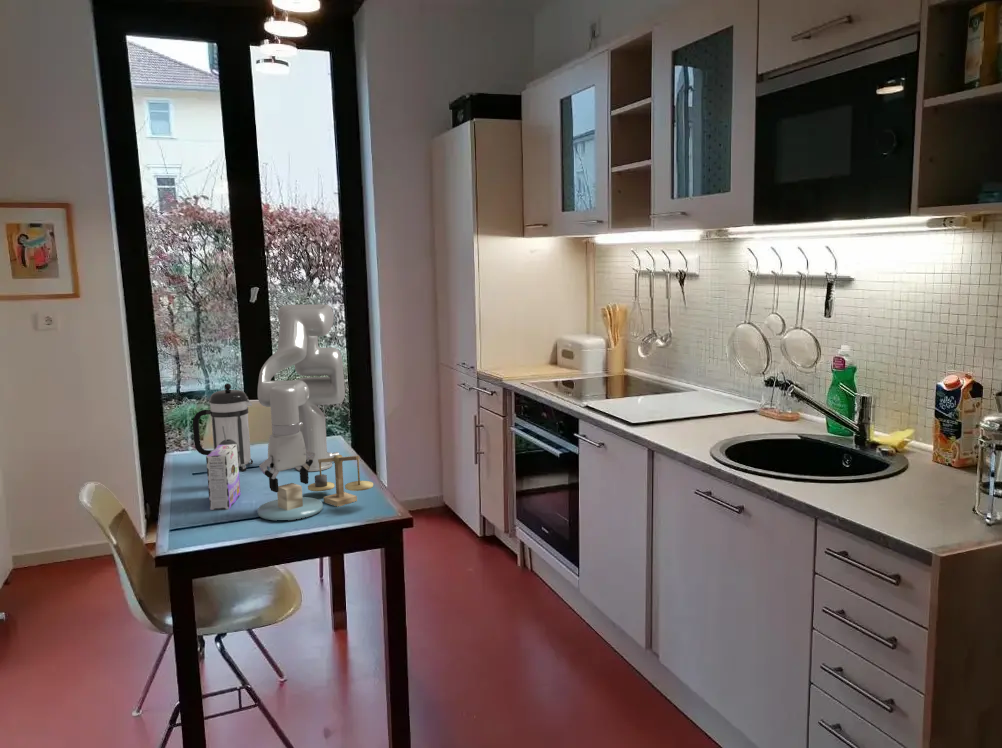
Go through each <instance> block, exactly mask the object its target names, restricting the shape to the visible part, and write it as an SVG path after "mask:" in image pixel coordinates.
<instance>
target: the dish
mask: <svg viewBox="0 0 1002 748" xmlns="http://www.w3.org/2000/svg"><path fill="white" fill-rule="evenodd" d="M302 500H303V506H302V507H298V508H295V509H291V510H285V509H282V508H280V507H278V499H275V500H274V499H273V500H271V501H267V502H266V503H263V504H261V505H260V506H259V507H258V508H257V515H258V516H259V517H260V518H262V519H265V520H270V521H277V520H288V521H295V520H296V519H297V520H300V519H301V518H302V519H305V517H306V518H308V517H311V516H315V515H316V514H318V513H320V512H321V511H322V510H323V507H324V505H323V502H322V500H320V499H317V498H313V497H305V496H302Z"/></svg>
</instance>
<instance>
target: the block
mask: <svg viewBox="0 0 1002 748" xmlns="http://www.w3.org/2000/svg"><path fill="white" fill-rule="evenodd" d="M302 487H303V486H302V485H300V484H296V483H295V482H294V483H293V482H290V483H286V484H281V485H278V490H279V491H278V492H276V493H277V494H276V496H277V500H278V507H280V508H282V509H285V510H291V509H295V508H298V507H302V506H303V500H302V497H303V488H302Z"/></svg>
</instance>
